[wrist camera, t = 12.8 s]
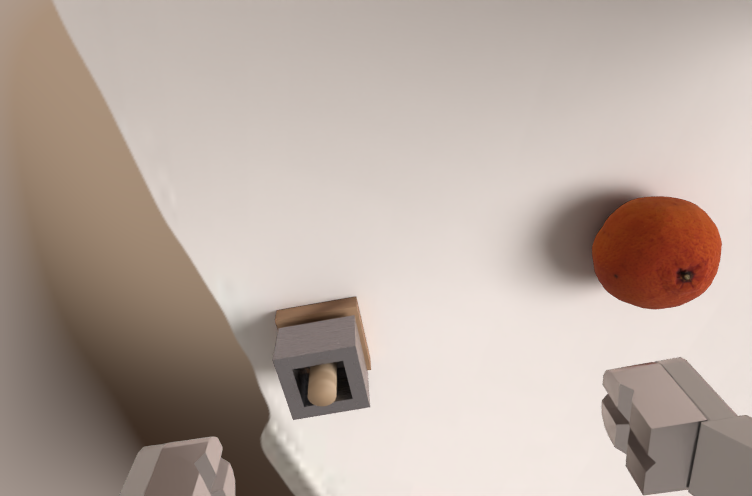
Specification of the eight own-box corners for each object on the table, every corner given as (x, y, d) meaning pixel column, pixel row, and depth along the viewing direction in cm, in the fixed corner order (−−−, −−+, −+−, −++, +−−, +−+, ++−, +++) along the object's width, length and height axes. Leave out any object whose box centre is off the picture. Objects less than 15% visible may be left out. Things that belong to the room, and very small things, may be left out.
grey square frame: (354, 315, 42) (355, 346, 38) (367, 373, 45) (369, 407, 41) (278, 328, 42) (272, 360, 38) (297, 385, 45) (293, 419, 41)
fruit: (587, 184, 40) (639, 227, 33) (695, 182, 41) (770, 224, 33) (567, 280, 44) (610, 336, 37) (666, 277, 45) (727, 332, 38)
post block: (356, 296, 44) (358, 352, 37) (370, 358, 47) (374, 420, 40) (276, 310, 44) (265, 368, 37) (296, 371, 47) (288, 435, 41)
